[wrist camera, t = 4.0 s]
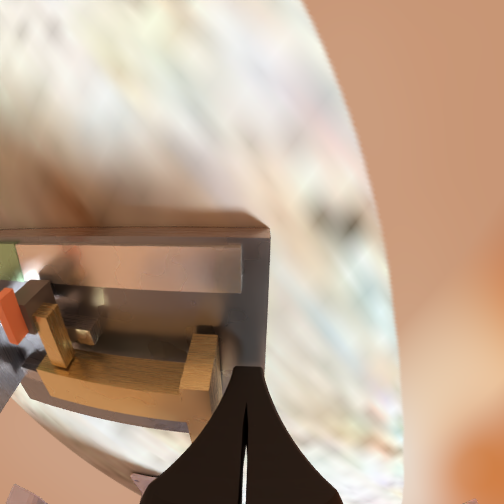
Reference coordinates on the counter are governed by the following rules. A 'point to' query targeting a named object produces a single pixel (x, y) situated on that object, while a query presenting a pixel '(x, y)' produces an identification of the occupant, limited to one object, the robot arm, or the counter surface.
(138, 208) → the counter surface
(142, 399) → the wooden u-shaped cradle
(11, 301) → the orange and grey block
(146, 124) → the counter surface
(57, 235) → the gauge base
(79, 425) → the counter surface
